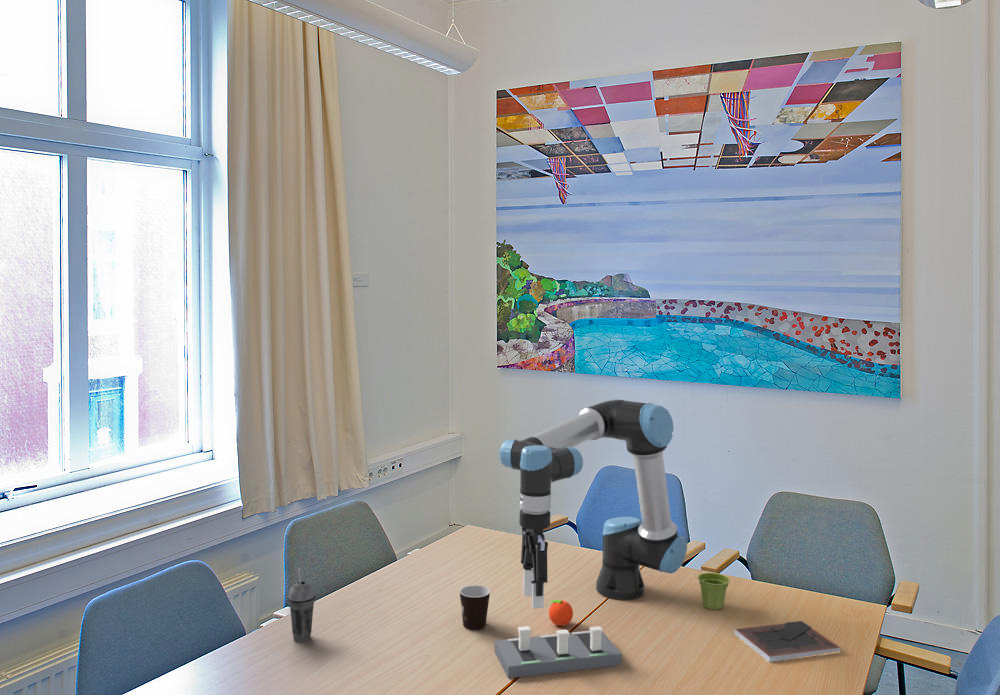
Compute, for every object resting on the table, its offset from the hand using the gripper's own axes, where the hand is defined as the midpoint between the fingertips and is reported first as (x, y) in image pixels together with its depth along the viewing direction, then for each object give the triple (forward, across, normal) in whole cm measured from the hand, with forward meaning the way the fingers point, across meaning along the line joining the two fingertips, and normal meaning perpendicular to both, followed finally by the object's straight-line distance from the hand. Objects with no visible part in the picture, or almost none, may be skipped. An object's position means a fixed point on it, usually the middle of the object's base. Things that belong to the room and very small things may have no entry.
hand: (533, 601), depth 191 cm
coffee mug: (+19, -32, -7) cm, 38 cm away
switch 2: (+16, -3, +18) cm, 24 cm away
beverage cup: (+19, -33, -55) cm, 67 cm away
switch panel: (+19, -7, +9) cm, 22 cm away
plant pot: (+19, -28, +66) cm, 74 cm away
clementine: (+19, -26, +16) cm, 36 cm away
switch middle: (+16, -3, +9) cm, 18 cm away
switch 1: (+16, -7, 0) cm, 17 cm away
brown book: (+20, -1, +73) cm, 76 cm away
